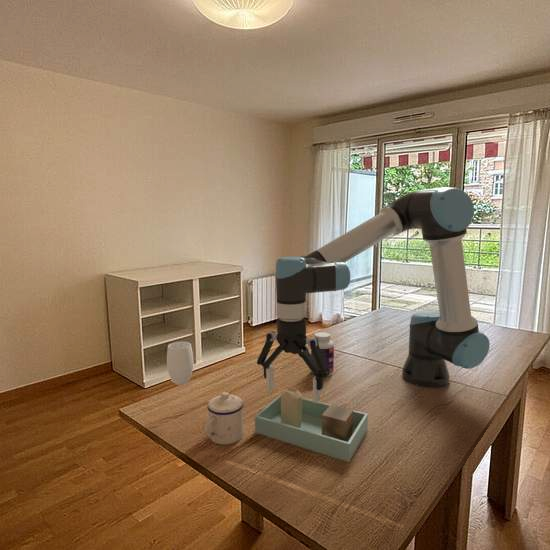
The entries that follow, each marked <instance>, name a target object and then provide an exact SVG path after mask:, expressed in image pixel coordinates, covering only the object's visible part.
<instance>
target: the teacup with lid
mask: <svg viewBox="0 0 550 550" xmlns="http://www.w3.org/2000/svg"><path fill="white" fill-rule="evenodd" d="M206 407H207V411H208V419H207V420H206V422H205V424H204V427H203V429H204V435H205V436H206V437H208V438H209V439H210V441H212V443H215V444H218V445H222V446H223V445H224V446H225V445H232V444H235V443H237V442H238V441H240V440H241V439H242V438H243V436H244V425H243V423H244V421H243V419H244V418H243V416H244V415H243V412H244V411H243V407H244V402H243V399H242V398H241V397H239V396H237V395H234V394H230V393H229V392H227V391H224V392H221V394H220V395H217V396H214V397H212V398H211V399H210V400H209V401H208V403H207V406H206Z"/></svg>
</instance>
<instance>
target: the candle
mask: <svg viewBox="0 0 550 550" xmlns="http://www.w3.org/2000/svg"><path fill="white" fill-rule="evenodd" d="M280 394H281V423H284V424H287V425H290V426H294V427H297V428H300V427H301V415H302V398H303V397H302V393H301V392H300V391H299V390H298V389H297V388H295V387H293V388H291V387H287V388H286V389H285V390H283V391H282V392H281V393H280Z"/></svg>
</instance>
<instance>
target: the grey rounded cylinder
mask: <svg viewBox="0 0 550 550" xmlns="http://www.w3.org/2000/svg"><path fill="white" fill-rule="evenodd" d="M194 363H195V362H194V352H193V348H192V343H191V342H188V341H175V342H174V341H173V342H171V343H169V344H168V345H167V351H166V367H167V371H168V372H167V373H168V376H169V378H170V380H171V382H172V383H174V384H175V385H177V386H184V385H186V384H187V383H188V382H189V381H191V378H192V375H193V369H194Z"/></svg>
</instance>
